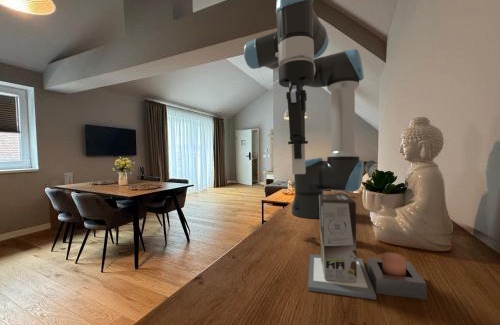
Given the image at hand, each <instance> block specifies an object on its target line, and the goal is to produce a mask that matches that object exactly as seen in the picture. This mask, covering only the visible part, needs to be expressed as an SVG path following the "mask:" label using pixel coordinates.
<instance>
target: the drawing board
mask: <svg viewBox="0 0 500 325" xmlns="http://www.w3.org/2000/svg"><path fill="white" fill-rule="evenodd" d="M356 266H357V282H356V283H353V282H343V281H332V280H325V279H324V273H323V268H322V263H321V254H312V253H310V254H309V266H308V267H309V268H308V280H307V281H308V282H307V283H308V284H307V290H308V291H309V292H317V293H323V294H324V293H325V294H329V295H330V294H331V295H338V296H339V295H340V296H345V297H353V298H361V299H367V300H368V299H369V300H374V301H375V300H377V293H376V291H375V288H374V286H373V283H372V281H371V278H370V276H369V273H368V270H367V269H366V266H365V264H364V261H363V258H357V257H356Z"/></svg>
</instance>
